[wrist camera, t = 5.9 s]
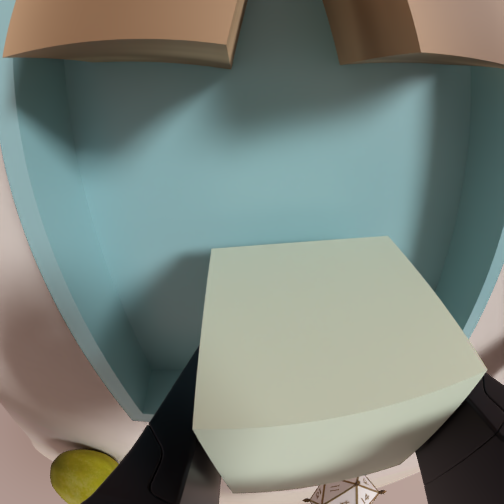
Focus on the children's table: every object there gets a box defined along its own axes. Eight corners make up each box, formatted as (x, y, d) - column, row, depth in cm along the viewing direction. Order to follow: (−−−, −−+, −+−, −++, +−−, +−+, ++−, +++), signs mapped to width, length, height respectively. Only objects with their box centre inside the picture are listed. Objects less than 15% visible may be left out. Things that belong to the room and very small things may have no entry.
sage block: (388, 236, 8) (487, 369, 4) (360, 350, 10) (400, 464, 6) (211, 248, 8) (192, 429, 3) (231, 365, 10) (233, 493, 6)
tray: (457, -38, 4) (507, -51, 1) (418, 340, 13) (441, 383, 11) (58, -39, 4) (10, -61, 1) (143, 369, 13) (132, 420, 11)
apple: (146, 471, 24) (141, 530, 17) (77, 455, 23) (66, 508, 17) (127, 449, 20) (117, 523, 13) (48, 428, 19) (31, 491, 13)
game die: (331, 441, 28) (366, 484, 18) (373, 462, 28) (410, 499, 19) (283, 488, 27) (301, 539, 17) (328, 505, 27) (353, 549, 17)
